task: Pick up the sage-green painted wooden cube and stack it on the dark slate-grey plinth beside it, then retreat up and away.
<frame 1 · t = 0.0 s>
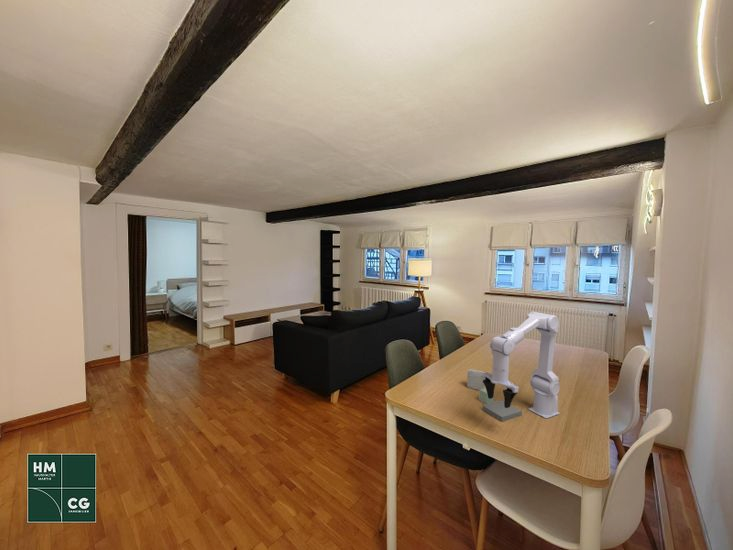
hand: (498, 402, 111), 10 cm above the table, tool pointing down, fingers open, 7 cm apart
medicine box: (475, 388, 146), on the table
sage cube: (486, 401, 132), on the table
slate plinth: (501, 412, 123), on the table
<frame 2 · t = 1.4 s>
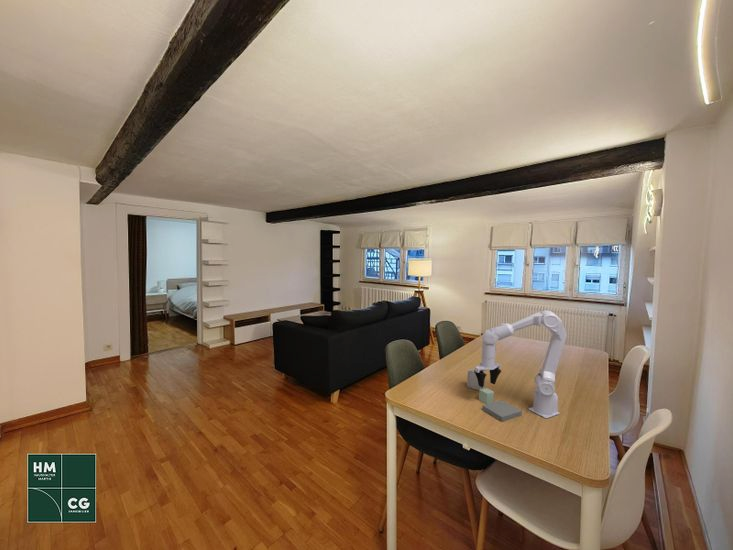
hand: (486, 385, 132), 8 cm above the table, tool pointing down, fingers open, 7 cm apart
nothing on the table moved.
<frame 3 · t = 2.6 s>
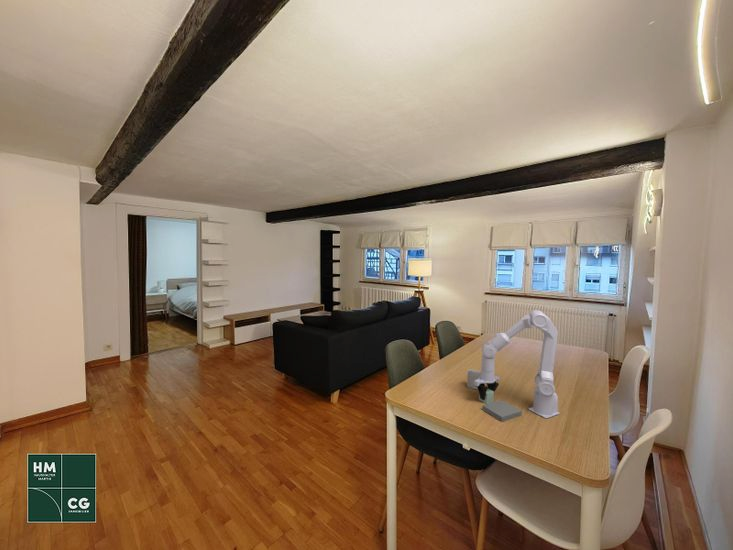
hand: (486, 398, 132), 1 cm above the table, tool pointing down, fingers closed on sage cube, 4 cm apart
sage cube: (486, 400, 132), on the table, touching gripper
everything else where it was.
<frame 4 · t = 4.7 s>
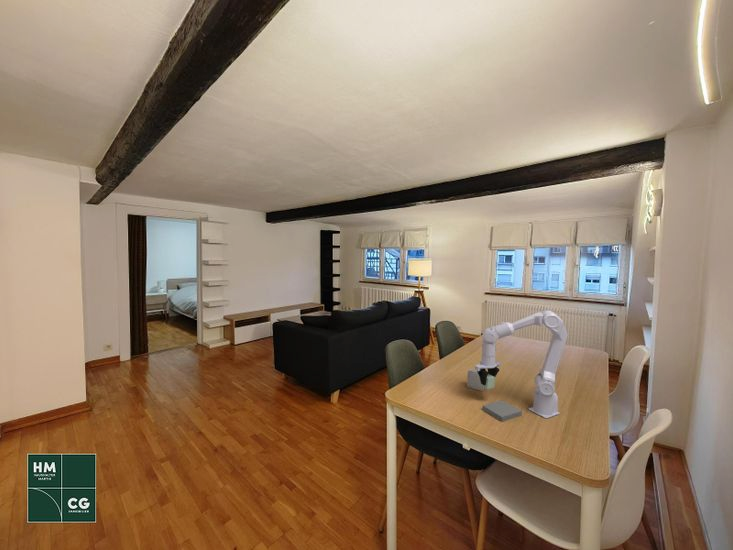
hand: (487, 383, 132), 8 cm above the table, tool pointing down, fingers closed on sage cube, 4 cm apart
sage cube: (486, 386, 132), point 7 cm above the table, touching gripper
everything else where it was.
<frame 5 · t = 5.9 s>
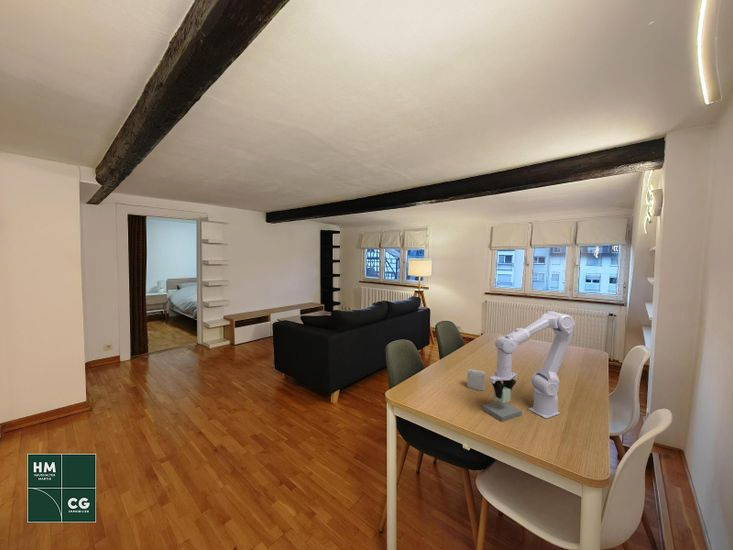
hand: (502, 396, 122), 7 cm above the table, tool pointing down, fingers closed on sage cube, 4 cm apart
sage cube: (501, 399, 122), point 6 cm above the table, touching gripper
everything else where it was.
when the fingers open (4 cm above the table, at t = 6.9 s): sage cube stays where it is, resting on slate plinth.
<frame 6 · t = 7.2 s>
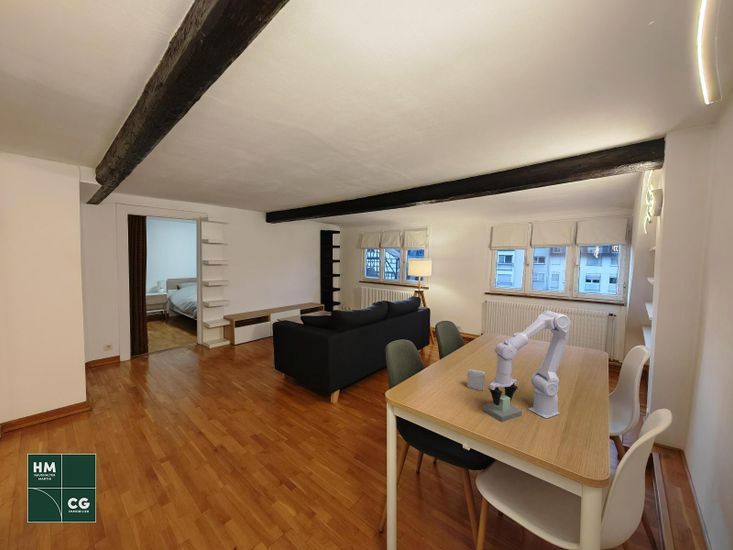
hand: (502, 402, 122), 4 cm above the table, tool pointing down, fingers open, 7 cm apart
sage cube: (501, 407, 123), point 2 cm above the table, touching slate plinth
everything else where it was.
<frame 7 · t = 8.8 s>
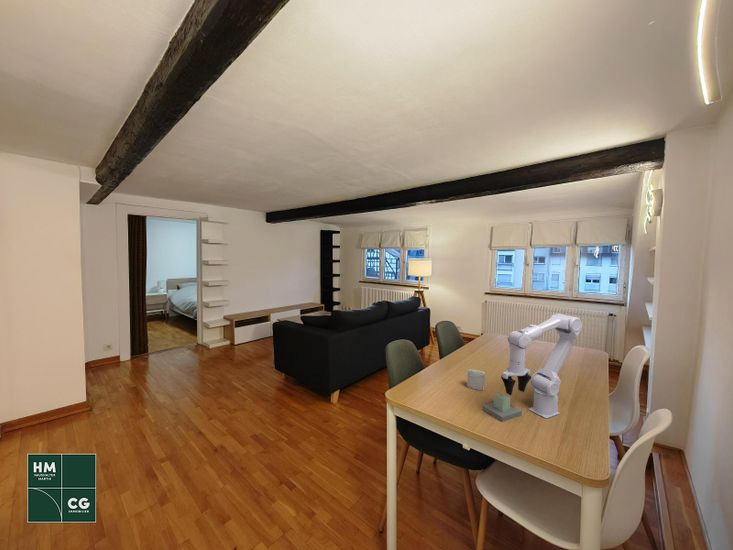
hand: (515, 392, 119), 10 cm above the table, tool pointing down, fingers open, 7 cm apart
nothing on the table moved.
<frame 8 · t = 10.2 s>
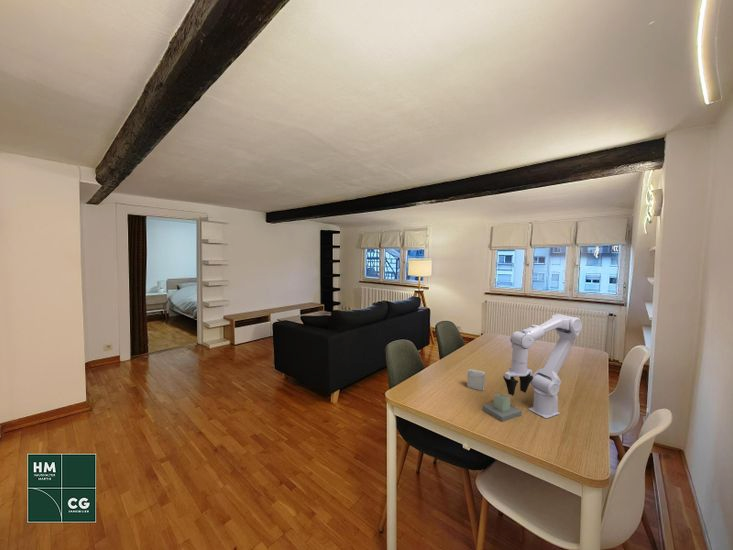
hand: (517, 393, 119), 10 cm above the table, tool pointing down, fingers open, 7 cm apart
nothing on the table moved.
at the end: sage cube inside the target area on the slate plinth (0.2 cm from its centre), point 2.0 cm above the slate plinth's base; sage cube tilted 0°; the gripper is holding nothing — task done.
